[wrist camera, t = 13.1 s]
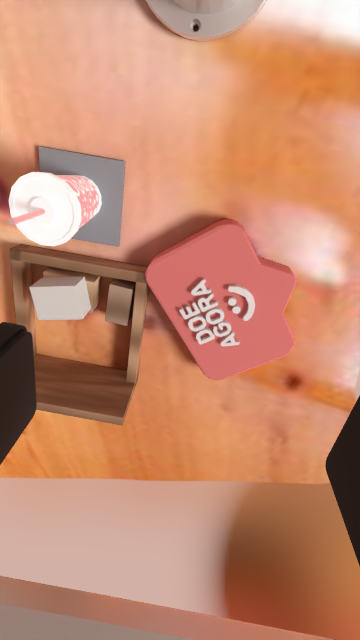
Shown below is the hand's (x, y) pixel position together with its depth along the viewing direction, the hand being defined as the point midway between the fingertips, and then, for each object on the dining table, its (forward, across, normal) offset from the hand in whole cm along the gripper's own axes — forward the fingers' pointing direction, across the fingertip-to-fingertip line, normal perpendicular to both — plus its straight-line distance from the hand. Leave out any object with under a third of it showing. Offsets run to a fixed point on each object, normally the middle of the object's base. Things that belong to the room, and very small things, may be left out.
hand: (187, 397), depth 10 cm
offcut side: (+31, +9, +12) cm, 34 cm away
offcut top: (+28, +15, +11) cm, 33 cm away
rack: (+30, +14, +16) cm, 37 cm away
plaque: (+31, -5, +9) cm, 33 cm away
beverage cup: (+30, +14, 0) cm, 33 cm away
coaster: (+30, +14, 0) cm, 33 cm away
